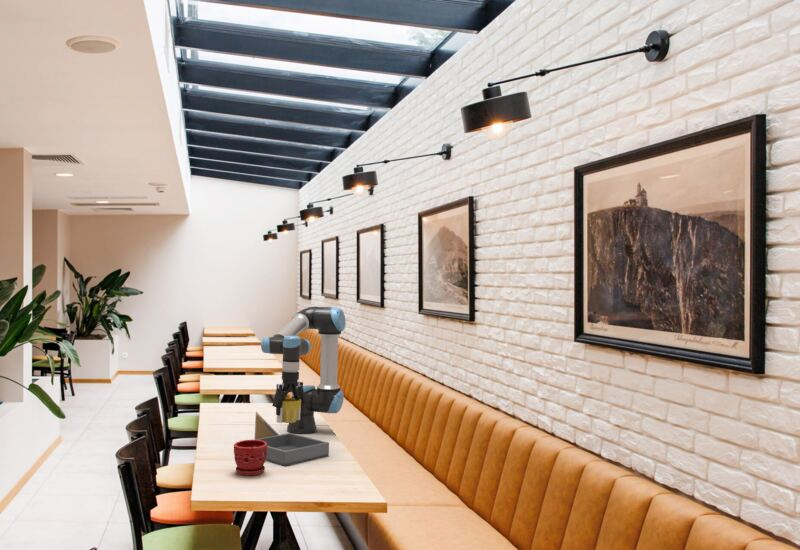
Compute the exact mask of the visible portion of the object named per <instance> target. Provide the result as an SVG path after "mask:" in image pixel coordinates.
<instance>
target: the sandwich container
mask: <svg viewBox="0 0 800 550" xmlns="http://www.w3.org/2000/svg"><path fill="white" fill-rule="evenodd" d="M254 422H255V423H254V440H255V439H260V438H266V437H271V436H276V435H280V434H278V432H277V431H276V430H275V429H274V428H273V427H272V426H271V425H270V424H269V423H268V422H267V421H266V420H265V418H263V417H262V415H260V414H259V412H257V411H256V412H255V421H254Z"/></svg>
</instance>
